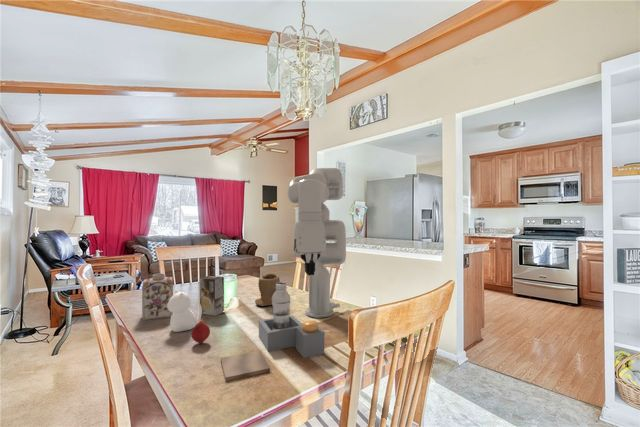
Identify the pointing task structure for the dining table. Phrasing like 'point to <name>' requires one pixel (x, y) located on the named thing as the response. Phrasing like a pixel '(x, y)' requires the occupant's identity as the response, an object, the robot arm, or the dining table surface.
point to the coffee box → (212, 295)
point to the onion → (200, 332)
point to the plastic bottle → (281, 307)
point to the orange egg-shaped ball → (310, 326)
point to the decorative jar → (156, 297)
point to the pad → (244, 365)
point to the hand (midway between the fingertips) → (310, 274)
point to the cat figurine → (182, 312)
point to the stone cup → (267, 288)
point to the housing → (291, 337)
